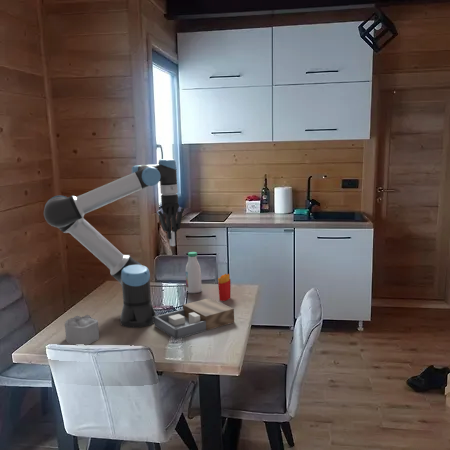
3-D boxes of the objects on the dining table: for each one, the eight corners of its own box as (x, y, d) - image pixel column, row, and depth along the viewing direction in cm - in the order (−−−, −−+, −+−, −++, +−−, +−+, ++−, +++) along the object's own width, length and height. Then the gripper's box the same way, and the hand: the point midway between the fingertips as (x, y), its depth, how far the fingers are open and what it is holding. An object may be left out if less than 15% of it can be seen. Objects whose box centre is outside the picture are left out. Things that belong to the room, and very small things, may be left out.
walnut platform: (206, 330, 199) (205, 316, 198) (183, 317, 214) (182, 304, 213) (234, 322, 207) (233, 308, 206) (210, 310, 222) (210, 297, 221)
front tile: (200, 327, 200) (195, 328, 199) (194, 323, 205) (189, 324, 203) (200, 315, 199) (194, 316, 198) (194, 312, 204) (188, 313, 202)
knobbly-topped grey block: (83, 347, 187) (81, 325, 186) (59, 341, 194) (57, 320, 192) (102, 337, 196) (101, 316, 195) (79, 331, 202) (77, 311, 201)
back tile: (184, 317, 205) (185, 322, 206) (178, 313, 209) (179, 319, 210) (174, 319, 202) (174, 325, 203) (168, 316, 206) (168, 322, 207)
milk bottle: (204, 289, 252) (202, 251, 249) (197, 294, 245) (195, 255, 242) (191, 288, 255) (189, 250, 252) (183, 292, 249) (181, 253, 245)
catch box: (175, 339, 192) (175, 329, 191) (154, 325, 206) (153, 316, 205) (206, 330, 199) (205, 321, 199) (183, 317, 214) (183, 309, 213)
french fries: (226, 295, 242) (225, 272, 239) (232, 297, 239) (232, 273, 237) (216, 301, 234) (215, 276, 232) (223, 302, 232) (222, 277, 230)
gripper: (159, 196, 214) (163, 249, 218) (186, 193, 221) (189, 244, 225) (152, 194, 220) (155, 246, 224) (178, 191, 227) (181, 242, 231)
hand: (172, 245), depth 225 cm, fingers closed
